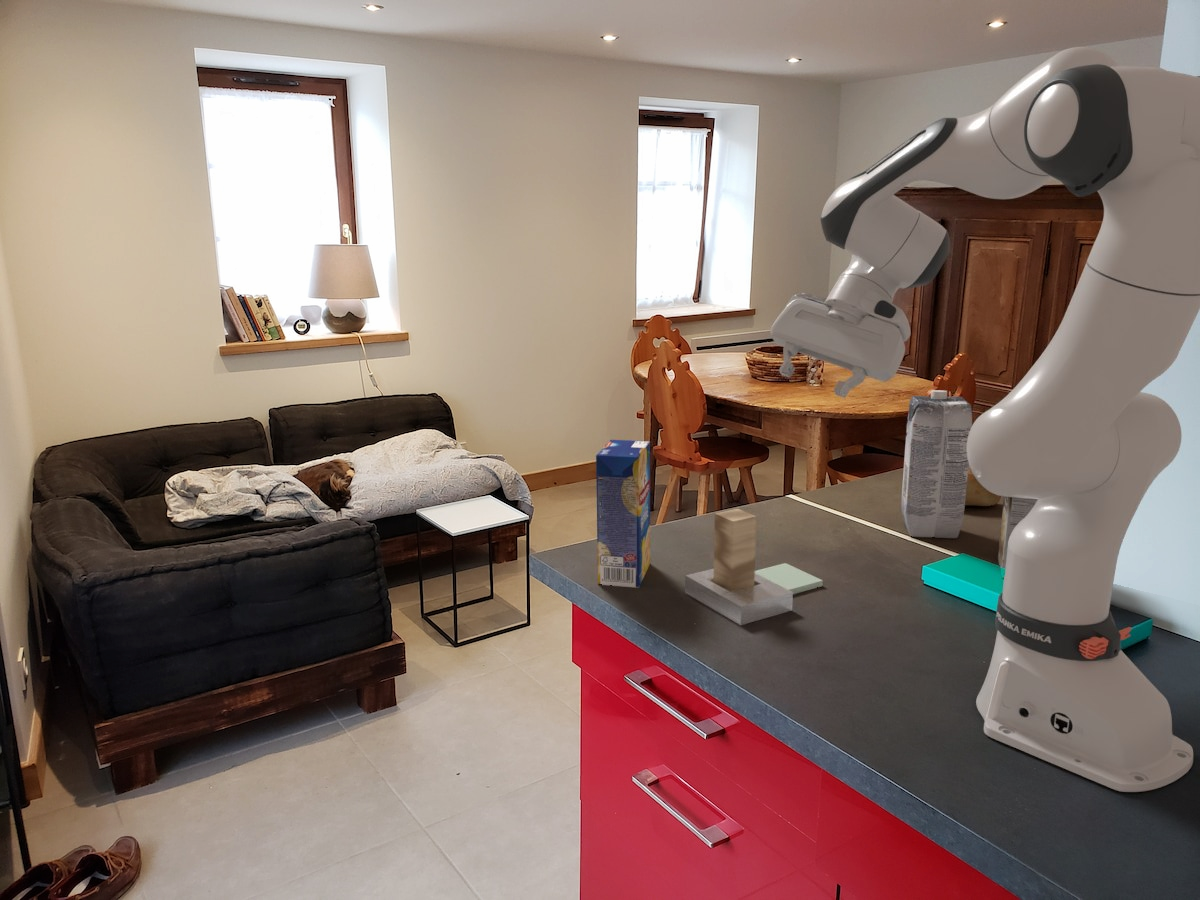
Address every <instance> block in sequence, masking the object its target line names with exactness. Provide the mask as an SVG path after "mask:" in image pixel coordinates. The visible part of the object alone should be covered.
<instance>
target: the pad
mask: <svg viewBox="0 0 1200 900" xmlns="http://www.w3.org/2000/svg"><path fill="white" fill-rule="evenodd" d="M755 573H756V574H758V575H760V576H762V577H764V578H766V579H768V580H770V581H772V582H774V583H776V584H778V585H780V586H782V587H784V588H786V589H788V590H790V591H792V592H793V595H797V594H800V593H803V592H806V591H810V590H814V589H817V587H818V588H821V587H823V586H824V585H823V583H824V582H823V581H824V580H823V579H821V578H819V577H816V576H815V575H813V574H810V573H809V572H808V573H807V572H805V571H804V570H801V569H799V568H797V567H795V566H794V565H793V566H792V565H790V564H789V563H786V562H784V563H781V564H776V565H773V566H769V567H765V568H762V569H761V568H760V569H758V570H756V569H755Z"/></svg>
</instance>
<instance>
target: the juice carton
mask: <svg viewBox="0 0 1200 900" xmlns="http://www.w3.org/2000/svg"><path fill="white" fill-rule="evenodd" d="M972 416H973V405H972V404H971V403H970V402H968V401H967V400H966V399H964V398H963V397H962V396H958V395H957V396H948V390H940V389H939V390H936V389H933V390H930V396H922V395H912V396H911V397H910V400H909V405H908V414H907V420H906V434H905V446H904V461H903V472H902V473H903V475H902V485H901V486H902V487H901V500H900V502H901V503H900V504H901V507H900V509H901V510H900V511H901V516H902V521H903V524H904V527H905V528H907V529H906V530H907V532H908V535H909V537H911V536H912V538H932V537H935V539H937V538H938V539H958V537H959V534H960V531H961V528H962V525H963V521H964V517H965V516H964V515H965V507H966V505H965V498H966V487H967V477H968V468H969V467H970V466H969V463H968V458H967V440H968V435H969V432H970V429H971V427H972V425H973V417H972Z"/></svg>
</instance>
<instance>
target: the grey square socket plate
mask: <svg viewBox="0 0 1200 900" xmlns="http://www.w3.org/2000/svg"><path fill="white" fill-rule="evenodd" d="M684 580H685V581H684V582H685V583H684V584H685V585H684V587H685V589H684V590H685V591H684V593H685V594H686V595H688V596H690V597H691V598H693V599H695V600H696V601H698V602H700V603H701V604H703V605H704V606H706V607H708V608H710V609H711V610H713V611H715V612H716V613H718V614H719V615H721V616H724V617H726V618H727V619H729V620H731V621H732V622H734V623H735V624H737V625H739V626H743V625H747V624H750V623H753V622H757V621H760V620H763V619H768V618H770V617H774V616H778V615H781V614H784V613H788V612H792V611H793V602H794V601H793V600H794V598H793V596H794V594H793V592H792V591H790V590H788V589H786V588H784V587H782V586H780V585H778V584H776V583H774V582H772V581H770V580H768V579H766V578H764V577H762V576H760V575H758V574H756V573H755V578H754V586H751V587H748V588H744V589H740V590H736V591H733V592H730V591H728V590H726V589H724V588H722V587H720V586H719V585H717V584H715V583H713V582H714V568H709V569H706V570H702V571H697V572H694V573H689V574H686V575H685V577H684Z"/></svg>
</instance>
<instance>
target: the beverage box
mask: <svg viewBox="0 0 1200 900" xmlns="http://www.w3.org/2000/svg"><path fill="white" fill-rule="evenodd" d="M595 460H596V461H595V468H596V470H595V471H596V474H595V475H596V476H595V477H596V478H595V479H596V533H597V534H596V537H597V540H596V542H597V545H596V546H597V550H596V551H597V585H598V584H602V585H601V586H610V585H612V586H613V587H625V588H640V586H641V583H642V581H643V580H644V578H645V575H646V574H647V571H648V570H649V567H650V565H651V441H649V440H633V439H632V440H631V439H630V440H627V439H624V440H623V439H610V440H608V442H607V443H606V444H605V445H604V446H603V447H602V449H600V450H599V452H597V454H596V455H595Z"/></svg>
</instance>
